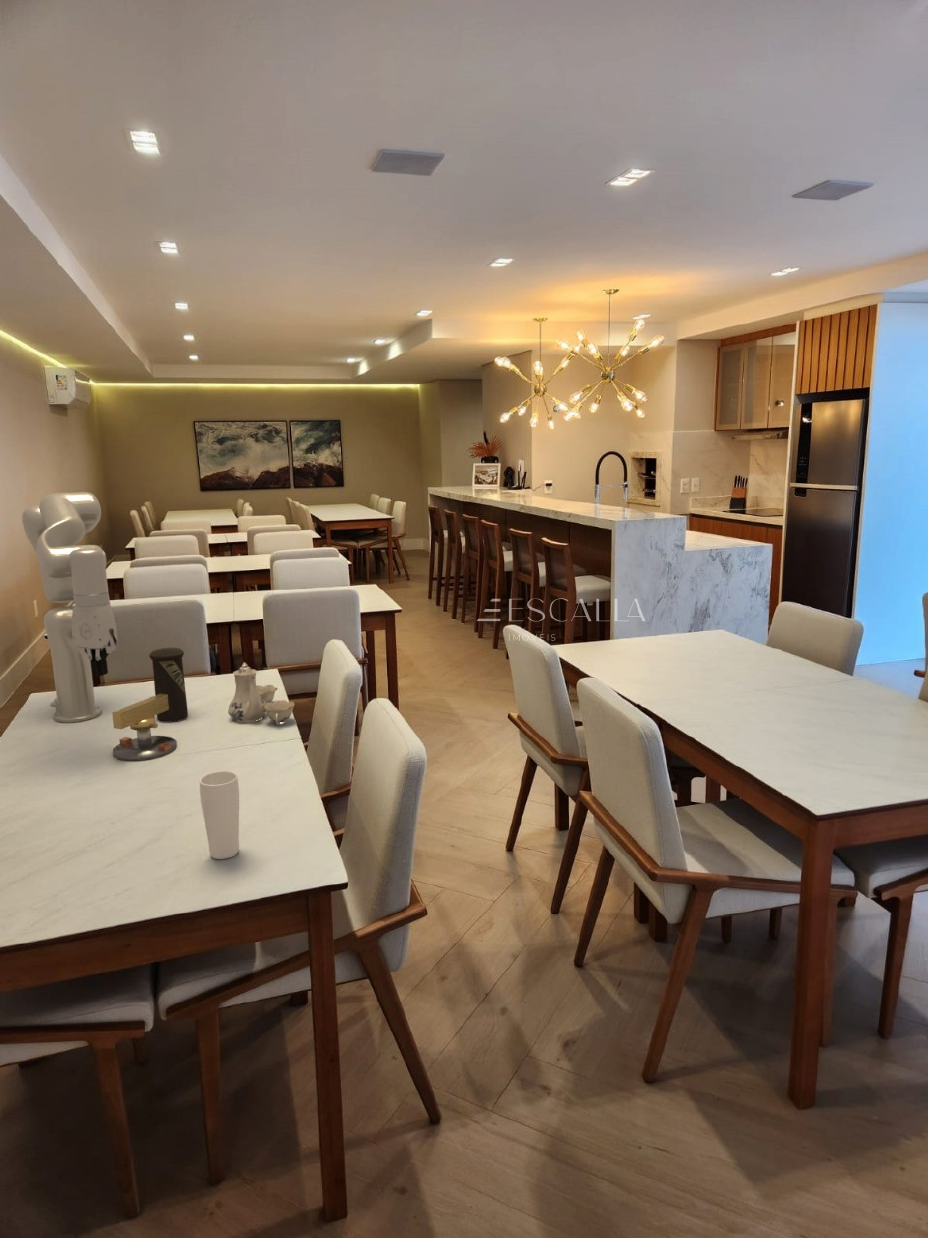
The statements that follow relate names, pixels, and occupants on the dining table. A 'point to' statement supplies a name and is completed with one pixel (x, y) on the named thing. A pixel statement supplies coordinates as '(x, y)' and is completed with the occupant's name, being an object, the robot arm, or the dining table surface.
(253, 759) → the dining table surface
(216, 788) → the drinking glass
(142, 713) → the gold bar handle
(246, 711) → the chinaware
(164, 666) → the container
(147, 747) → the post base
